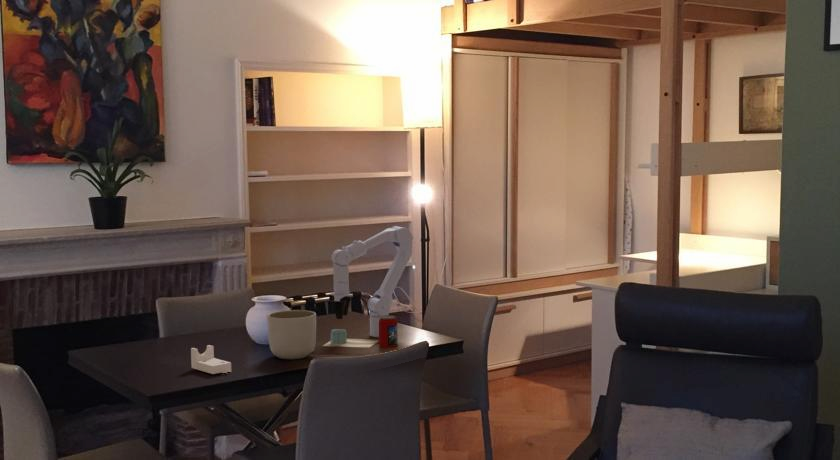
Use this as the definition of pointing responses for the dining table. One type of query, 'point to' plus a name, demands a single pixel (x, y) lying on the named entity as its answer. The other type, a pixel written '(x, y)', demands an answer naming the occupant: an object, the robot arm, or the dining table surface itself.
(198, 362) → the bracket
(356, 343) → the stud plate
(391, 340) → the beverage can
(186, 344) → the dining table surface
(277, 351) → the planter
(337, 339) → the cap
